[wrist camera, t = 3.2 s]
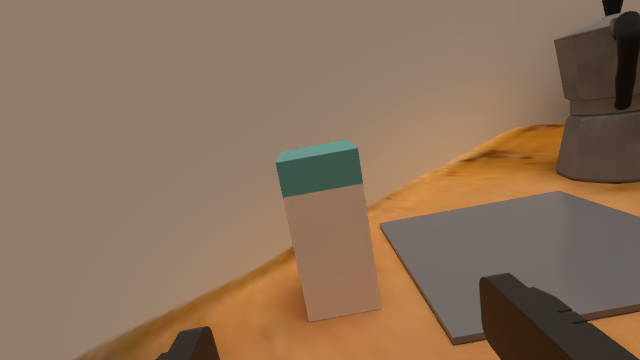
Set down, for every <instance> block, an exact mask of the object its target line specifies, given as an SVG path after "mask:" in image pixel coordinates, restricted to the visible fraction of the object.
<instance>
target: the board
mask: <svg viewBox="0 0 640 360" xmlns="http://www.w3.org/2000/svg"><path fill="white" fill-rule="evenodd" d="M379 224H380V228H381V230H382V231H383V233H384V234H385V236H386V238H387V239H388V241H389V242H390V244H391V246H392V247H393V249H394V250H395V252H396V254H397V255H398V257H399V258H400V260H401V262H402V263H403V265H404V266H405V268H406V270H407V271H408V273H409V274H410V276H411V277H412V279H413V281H414V282H415V284H416V285H417V287H418V289H419V290H420V292H421V293H422V295H423V297H424V298H425V300H426V301H427V303H428V305H429V306H430V308H431V309H432V311H433V313H434V314H435V316H436V317H437V319H438V321H439V322H440V324H441V325H442V327H443V329H444V330H445V332H446V333H447V335H448V337H449V338H450V340H451V341H452V343H453V345H455V344H461V343H466V342H472V341H477V340H483V339H486V337H485V334H484V331H483V327H482V321H481V306H480V291H479V281H480V278H481V277H486V276H491V275H497V274H502V273H510V274H512V275H513V276H514V277H516V278H517V279H518V280H519V281H521V282H522V283H523V284H524V285H526V286H527V287H528V288H530V287H535V288H537V289H540V290H542V291H544V292H546V293H549V294H551V295H553V296H555V297H557V298H558V299H559V300H561V301H562V302H563V303H565V304H566V305H567V306H569V307H570V308H571V309H572V311H573V312H577V313H578V314H579V315H581V316H582V317H583V318H585V319H586V320H592V319H597V318H602V317H608V316H613V315H619V314H624V313H630V312H635V311H640V217H638V216H635V215H632V214H629V213H626V212H623V211H620V210H616V209H613V208H610V207H607V206H604V205H601V204H598V203H595V202H592V201H589V200H586V199H582V198H579V197H576V196H573V195H570V194H567V193H564V192H561V191H555V192H550V193H544V194H539V195H533V196H528V197H522V198H517V199H511V200H506V201H500V202H495V203H489V204H484V205H478V206H473V207H467V208H462V209H456V210H451V211H445V212H440V213H434V214H429V215H423V216H418V217H412V218H407V219H401V220H396V221H390V222H385V223H379Z"/></svg>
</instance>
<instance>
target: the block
mask: <svg viewBox="0 0 640 360" xmlns="http://www.w3.org/2000/svg"><path fill="white" fill-rule="evenodd" d="M276 167H277V172H278V176H279V181H280V186H281V190H282V195H283V200H284V205H285V210H286V215H287V219H288V224H289V229H290V234H291V239H292V243H293V248H294V253H295V258H296V262H297V267H298V272H299V277H300V282H301V286H302V291H303V296H304V301H305V305H306V310H307V315H308V320H309V322H312V321H318V320H323V319H329V318H334V317H340V316H345V315H351V314H356V313H362V312H367V311H373V310H378V309H381V302H380V295H379V288H378V282H377V275H376V268H375V261H374V255H373V248H372V241H371V234H370V228H369V221H368V214H367V207H366V201H365V194H364V187H363V180H362V174H361V167H360V160H359V153H358V148H357V147H356V146H354V145H353V144H352V143H350V142H349V141H348V140H344V141H339V142H333V143H328V144H323V145H317V146H311V147H305V148H300V149H294V150H289V151H283V152H282V153H281V154H280V156H279V158H278V159H277V161H276Z"/></svg>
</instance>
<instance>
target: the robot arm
mask: <svg viewBox="0 0 640 360" xmlns="http://www.w3.org/2000/svg"><path fill="white" fill-rule="evenodd" d="M479 291H480V306H481V321H482V327H483V331H484V334H485V337H486V339H487V341H488V343H489V344H490V346H491V347H492V349H493V350H494V351H495V353H496V354H497V355H498V356H499V358H500V359H501V360H639V359H638V358H637V357H635V356H634V355H633V354H631V353H630V352H629V351H627V350H626V349H625V348H623V347H622V346H621V345H619V344H618V343H617V342H615V341H614V340H613V339H611V338H610V337H609V336H607V335H606V334H605V333H603V332H602V331H601V330H599V329H598V328H597V327H595V326H594V325H593V324H591V323H588V322H587V320H586V319H585V318H583V317H582V316H581V315H579V314H578V313H577V312H573V311H572V309H571V308H570V307H569V306H567V305H566V304H565V303H563V302H562V301H561V300H559V299H558V298H557V297H555V296H553V295H551V294H549V293H546V292H544V291H542V290H540V289H537V288H535V287H530V288H528V287H527V286H526V285H524V284H523V283H522V282H521V281H519V280H518V279H517V278H516V277H514V276H513V275H512V274H510V273H502V274H497V275H491V276H486V277H481V278H480V281H479ZM156 360H220V358H219V355H218V351H217V348H216V344H215V341H214V337H213V334H212V331H211V329H210V328H209V327H208V326H205V327H199V328H194V329H188V330H183V331H180V332H179V334H178V335H177V337H176V339H175V340H174V342H173V344H172V346H171V348H170V349H169V351H168V352H166V353H162V354H161V355H160V356H159V357H158V358H157V359H156Z"/></svg>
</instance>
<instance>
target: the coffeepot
mask: <svg viewBox="0 0 640 360" xmlns="http://www.w3.org/2000/svg"><path fill="white" fill-rule="evenodd" d="M602 2H603V7H604V11H605V16H606V17H604V18H602V19H599V20H597V21H595V22H593V23H591V24H589V25H586V26H584V27H582V28H580V29H578V30H576V31H573V32H571V33H569V34H567V35H565V36H563V37H560V38H558V39H556V40H554V43H555V48H556V53H557V59H558V64H559V70H560V75H561V80H562V86H563V91H564V97H565V99H568V100H570V114H571V115H570V116H569V117H568V118H567V119H566V123H565V128H564V133H563V138H562V142H561V147H560V152H559V157H558V162H557V167H556V171H557V172H558V173H559V174H560V175H562V176H564V177H566V178H569V179H574V180H579V181H586V182H598V183H629V182H640V13H637V12H634V11H629V12H625V13H620V11H621V8H622V4H623V0H602Z"/></svg>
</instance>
